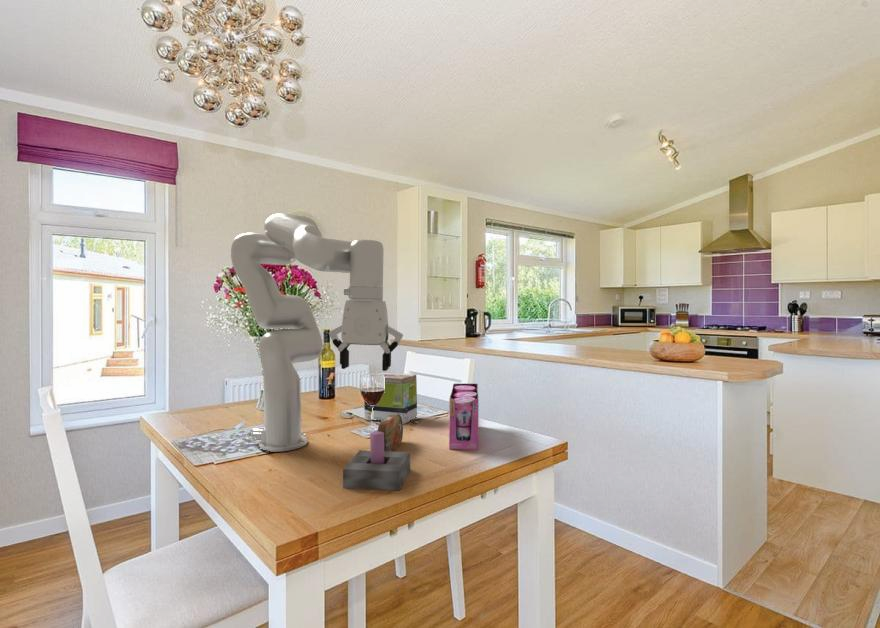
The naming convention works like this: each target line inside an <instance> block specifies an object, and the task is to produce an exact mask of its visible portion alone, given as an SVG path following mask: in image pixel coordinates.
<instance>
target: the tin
mask: <svg viewBox="0 0 880 628" xmlns="http://www.w3.org/2000/svg"><path fill="white" fill-rule="evenodd" d="M403 425H404V424H402V419H401V416H400V415H399V414H397V415H389V416H388V417H387V418H385V419H384V420H383V421H380V423H379V425H378V428H377V431H376V432H383V433H384V451H391V452H396V450H397V448H399V447H400V445H401V444H402V440H403V433H404V426H403Z"/></svg>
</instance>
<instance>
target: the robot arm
mask: <svg viewBox="0 0 880 628" xmlns="http://www.w3.org/2000/svg"><path fill="white" fill-rule="evenodd" d="M263 229H264V233H260V232H246V233H245V232H244V233H241V234H239V235H237V236H235V237H234V239H233V240H232V243H231V246H230V247H231V248H230V259H231V260H230V261H231V265H232V266H233V269H234V272H235V274H236V275H237V277H238V279H239V281H240V282H241V284H242V286H243V288H244V291H245V294H246V298H247V300H248V303H249V306H250V310H251V312H252V315H253V318H254V320H255V322H256V324H257V325H258V327H260V328H262V329H265V330H271V331H268V332H266V333H264V334H263V335H262V336H261V338H260V340H259V342H258V354H259V357H260V361H261V367H262V376H263V377H262V379H263V406H264V407H263V412H264V418H263V419H264V420H263V421H264V428H263V429H261V428H253V429H252V432H251V437H252V438H255V439H256V438H260V441H259V442H258V448H259V447H260V448H261V449H264V450H269V451H270V452H271V453H278V452H279V453H281V452H289V451H294V450H298V449H300V448H303V447H305V446H306V445H308V438H307V436H305V435H303V434H302V398H301V397H302V391H301V389H302V388H301V377H300V375H299V373H298V372H297V370H296V368H295V367H294V364H296V363H304V362H305V363H306V362H311V361H314V360H317V359H318V358H319V357H320V356H321V355H322V353H323V348H324V346H323V339H322V336H321V335H322V334H321V332H320V330H319V326H318V324H317V322H316V318H315V315H314V313H313V310H312V308H311V306H310V304H309V302H308V301H307V300H306V299H305V298H303V297H302V296H300V295H296V294H295V295H294V294H282V293H281V292H280V290H279V287H278V285H277V282H276V280H275V278H274V277H273V276H272V274H271V273H270V272H269V271H268V270H267V269H266V268H264V267H263V266H262V264H263V265H274V266H275V265H277V266H287V265H291V264H293V263H294V262H296V261H298V262H299V263H300V264H303V265H305V266H307V267H308V268H311V269H313V270H315V271H318V272H319V271H320V272H326V273H327V272H329V273H345V274H349V286H348V288H346V289H343V295H344V296H348V298H349V300H345V303H344V308H343V314H342V320H341V321H342V322H341V325H340V326H338V327H336V328H334V329H332V330H330V331H328V335H329V337H330V340H331V341H332V344H333V345H334V346H335V348H336V349H337V350H338V351H337V352H339V365H341V366H340V367H341V368H340V369H342V370H345V369H347V368H349V367H350V350H349V347H350V345H357V346H358V345H360V346H362V345H363V346H379V347H381V348H382V350H383V353H382V360H381V361H382V364H381V365H382V369H381V370H382V371H383V372H387V371H388V370H389V368H390V367H391V366H392V352H393V351H394V350H395V349H396V348H397V347H398V346H399V345H400V343H401V341H402V339H403V337H404V334H403V333H401V332H400V331H398V330H396V329H395V328H393V327H391V326H390V325H389V317H388V309H387V303H386V301H385V300H384V250H385V249H384V245H383V243H382V242H381V241H378V240H374V239H357V240H353V241H347V240H343V239H336V238H335V239H333V238H325V237H323V235H322V232H321V230H320V228H319V226H318V224H317V223H316V222H315V220H313V219H312V218H310V217H308V216H307V217H306V216H301V215H296V214H290V213H280V212H279V213H275V214H271V215H270V216H269V217H267V218H266V220H265V223H264V227H263ZM338 334H341V339H340V338H339V336H338ZM389 335H391V336H393V337H394V340H393V342H392V343H389ZM260 448H259V449H260ZM261 449H260V450H261ZM269 451H268V452H269Z"/></svg>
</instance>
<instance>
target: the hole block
mask: <svg viewBox="0 0 880 628" xmlns="http://www.w3.org/2000/svg"><path fill="white" fill-rule="evenodd" d="M410 471H411V451H394V452H391V451H384V464H371V450H361V449H360V450H359V451H358V452H357V453H356V454H355V455H354V456H353V458H352V459H351V460H350V461H349V462H348V463H347V464H346V465H345V467H344V468H342V484H343V485H342V486H343V487H342V488H343V489H357V490H358V489H359V490H360V489H361V490H381V491H382V490H383V491H400V490H401V487H402V486H403V484H404V482H405V480H406V478H407V476H408V475H409V472H410Z"/></svg>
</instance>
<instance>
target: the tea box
mask: <svg viewBox="0 0 880 628" xmlns="http://www.w3.org/2000/svg"><path fill="white" fill-rule="evenodd" d="M381 373H382V374H383V375H384V377H385V393H384V394H383V397H382V399H381V400H380V402H379V403H378V404H377V405H375V406H374V408H373V411H374V419H376V420H382V421H383V420H384V419H385V418H387V417H388V416H389V415H397V414H399V415H400V416H401V419H402V424H403V425H404V424H406V423H409V422H411V421H410V419H412V418H414V417H416V416H417V417H418V392H417V391H418V389H417V374H414V373H397V372H395V373H393V372H381ZM363 402H364V404H363V405H364V420H365V421H372V420H371V413H372V407H371V406H370V405H368V404H367V403H366V402H365V401H364V400H363ZM382 421H381V422H382Z"/></svg>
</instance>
